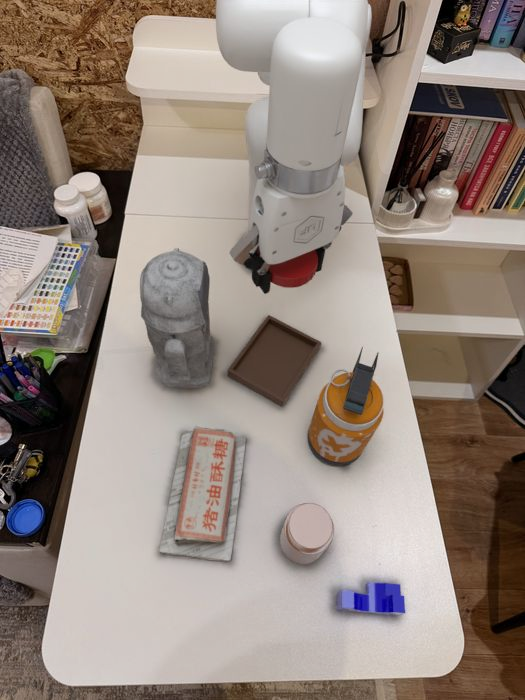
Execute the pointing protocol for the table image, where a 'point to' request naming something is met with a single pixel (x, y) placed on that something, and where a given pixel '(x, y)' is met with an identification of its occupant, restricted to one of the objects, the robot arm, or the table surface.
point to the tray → (274, 360)
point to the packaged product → (204, 495)
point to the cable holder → (373, 599)
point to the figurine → (178, 318)
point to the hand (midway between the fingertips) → (287, 273)
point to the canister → (346, 415)
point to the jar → (306, 533)
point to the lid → (295, 270)
